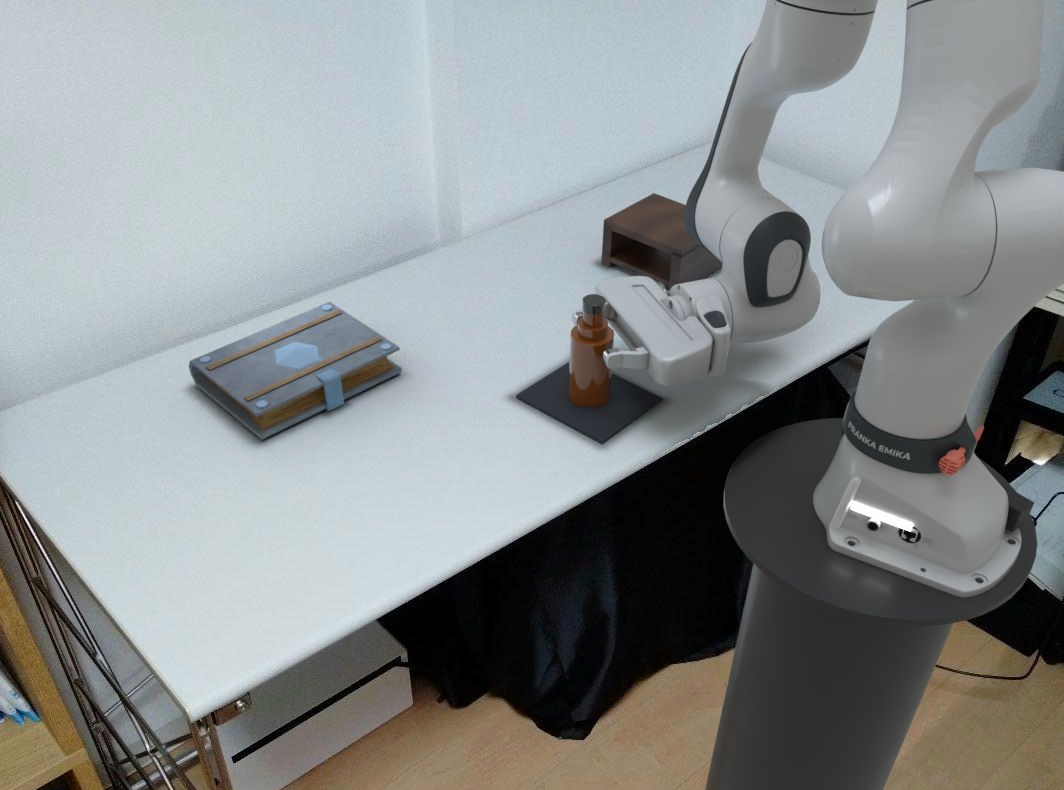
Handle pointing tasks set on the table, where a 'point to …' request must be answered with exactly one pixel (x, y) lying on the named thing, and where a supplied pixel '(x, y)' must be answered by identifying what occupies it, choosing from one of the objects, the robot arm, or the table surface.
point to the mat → (592, 421)
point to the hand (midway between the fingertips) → (589, 339)
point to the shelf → (656, 243)
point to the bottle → (590, 355)
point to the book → (295, 369)
